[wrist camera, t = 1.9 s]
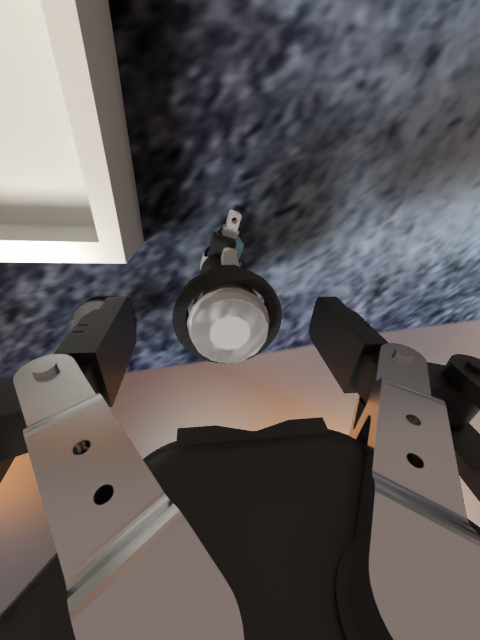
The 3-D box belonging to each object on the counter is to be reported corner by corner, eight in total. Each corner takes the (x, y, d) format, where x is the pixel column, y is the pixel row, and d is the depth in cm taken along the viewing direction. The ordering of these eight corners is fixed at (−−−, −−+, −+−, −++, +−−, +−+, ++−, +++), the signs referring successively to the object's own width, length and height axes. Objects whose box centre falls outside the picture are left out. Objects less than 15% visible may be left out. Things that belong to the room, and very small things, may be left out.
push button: (199, 197, 17) (191, 228, 9) (269, 221, 19) (321, 268, 10) (179, 283, 20) (160, 366, 12) (241, 298, 22) (262, 383, 13)
